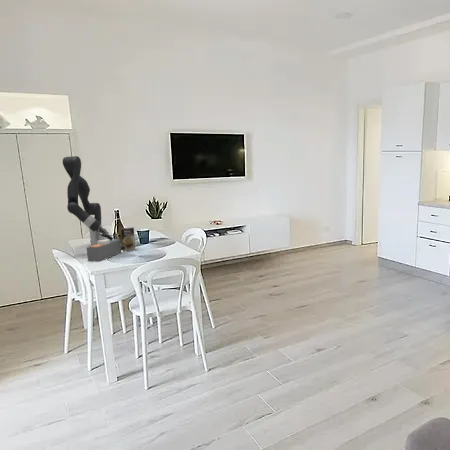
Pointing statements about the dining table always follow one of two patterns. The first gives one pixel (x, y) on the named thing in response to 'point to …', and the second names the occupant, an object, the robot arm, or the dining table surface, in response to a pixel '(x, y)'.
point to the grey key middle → (103, 242)
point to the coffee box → (128, 239)
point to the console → (103, 251)
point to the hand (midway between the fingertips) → (111, 239)
